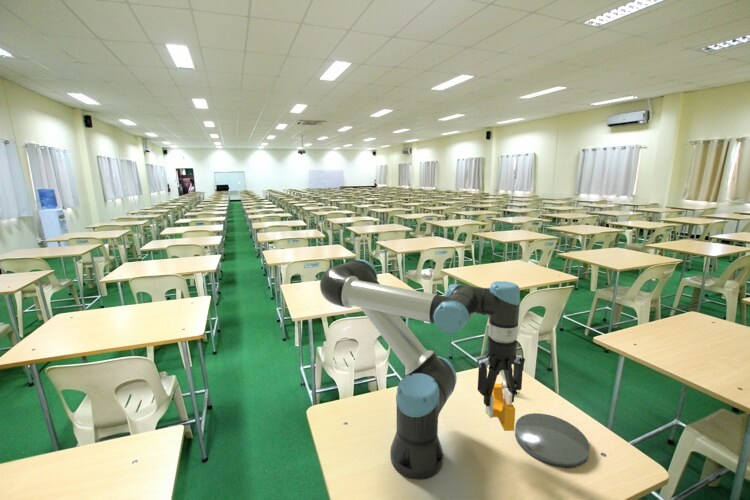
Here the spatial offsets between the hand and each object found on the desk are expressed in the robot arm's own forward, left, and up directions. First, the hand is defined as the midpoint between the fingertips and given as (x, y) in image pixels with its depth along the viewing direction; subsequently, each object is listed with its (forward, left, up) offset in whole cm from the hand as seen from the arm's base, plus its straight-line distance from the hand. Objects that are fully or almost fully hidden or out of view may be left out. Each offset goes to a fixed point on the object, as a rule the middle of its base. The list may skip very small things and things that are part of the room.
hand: (498, 413), depth 98 cm
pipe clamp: (0, -1, 0) cm, 1 cm away
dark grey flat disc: (+19, 0, -13) cm, 23 cm away
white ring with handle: (+21, +27, -13) cm, 36 cm away
